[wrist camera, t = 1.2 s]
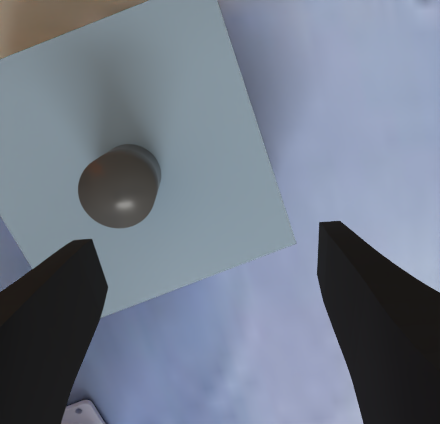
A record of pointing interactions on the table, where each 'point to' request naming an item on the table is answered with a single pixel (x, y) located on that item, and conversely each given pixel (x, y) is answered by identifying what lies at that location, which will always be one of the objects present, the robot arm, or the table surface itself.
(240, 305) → the table surface
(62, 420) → the robot arm
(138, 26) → the lid
